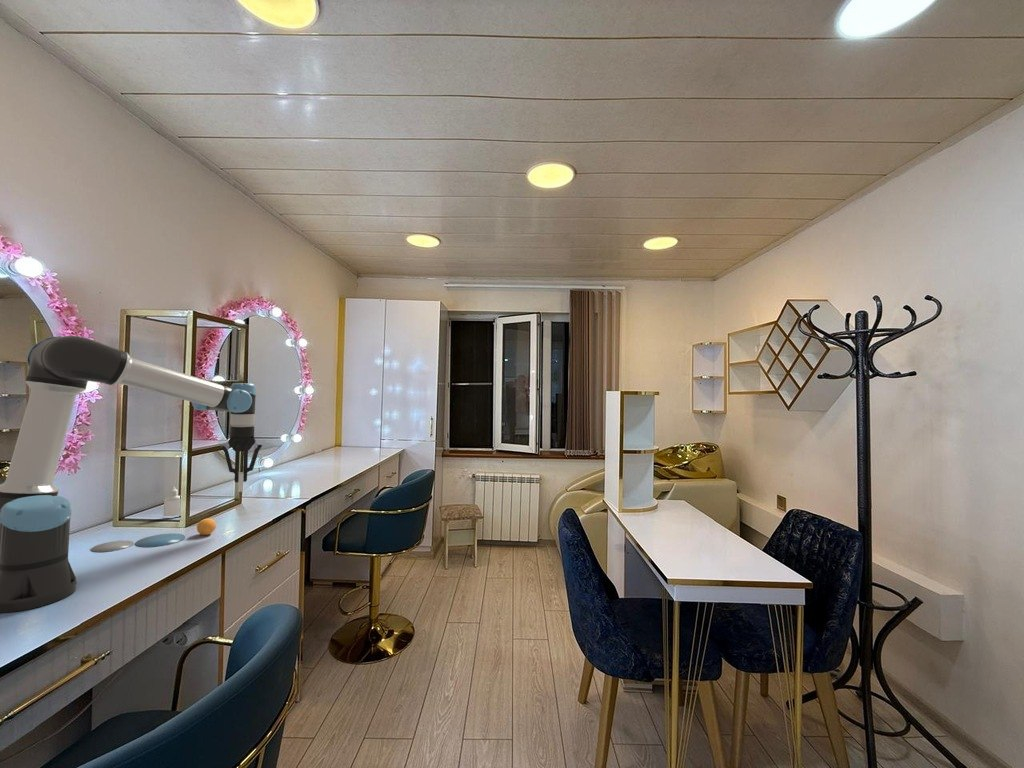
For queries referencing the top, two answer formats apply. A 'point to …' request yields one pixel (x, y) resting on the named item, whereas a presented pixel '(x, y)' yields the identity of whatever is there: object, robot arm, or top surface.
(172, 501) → the eye dropper bottle
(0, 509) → the robot arm
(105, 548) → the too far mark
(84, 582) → the top surface
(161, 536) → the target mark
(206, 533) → the ball
